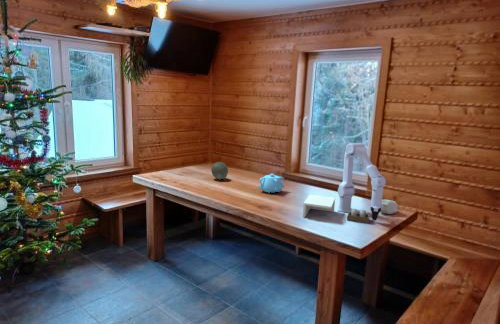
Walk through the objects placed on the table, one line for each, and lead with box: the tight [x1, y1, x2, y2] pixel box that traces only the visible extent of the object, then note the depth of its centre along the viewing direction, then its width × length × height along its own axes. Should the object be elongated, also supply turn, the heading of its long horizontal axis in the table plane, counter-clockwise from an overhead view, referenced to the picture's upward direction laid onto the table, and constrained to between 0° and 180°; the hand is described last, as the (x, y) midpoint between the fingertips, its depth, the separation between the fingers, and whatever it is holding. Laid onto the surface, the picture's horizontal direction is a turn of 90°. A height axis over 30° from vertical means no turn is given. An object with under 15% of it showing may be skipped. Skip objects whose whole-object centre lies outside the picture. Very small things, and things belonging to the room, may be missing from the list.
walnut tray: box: [346, 208, 370, 224], centre depth 204 cm, size 8×12×6 cm, turn 70°
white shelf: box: [302, 194, 336, 218], centre depth 211 cm, size 20×16×9 cm
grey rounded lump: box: [379, 199, 399, 215], centre depth 219 cm, size 9×11×15 cm
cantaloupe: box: [210, 161, 229, 181], centre depth 289 cm, size 14×14×15 cm
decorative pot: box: [258, 173, 285, 194], centre depth 258 cm, size 16×16×14 cm
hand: (374, 219), depth 201 cm, fingers closed
